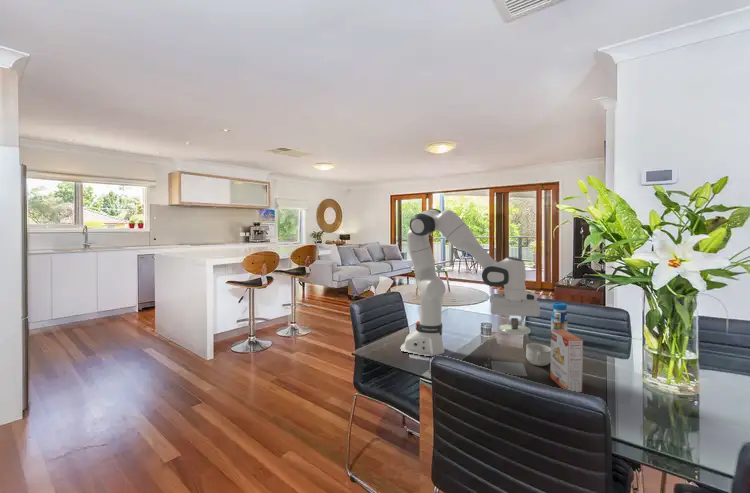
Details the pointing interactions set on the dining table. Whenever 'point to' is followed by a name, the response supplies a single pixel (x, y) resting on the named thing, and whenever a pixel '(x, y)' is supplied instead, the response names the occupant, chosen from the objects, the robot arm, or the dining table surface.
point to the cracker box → (566, 360)
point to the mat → (509, 368)
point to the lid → (514, 328)
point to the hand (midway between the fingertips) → (514, 325)
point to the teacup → (538, 354)
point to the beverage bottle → (559, 316)
